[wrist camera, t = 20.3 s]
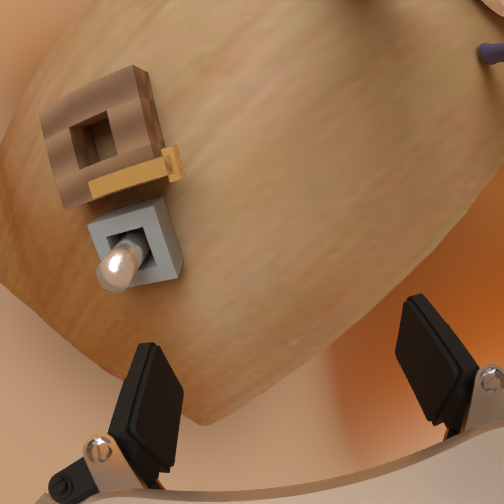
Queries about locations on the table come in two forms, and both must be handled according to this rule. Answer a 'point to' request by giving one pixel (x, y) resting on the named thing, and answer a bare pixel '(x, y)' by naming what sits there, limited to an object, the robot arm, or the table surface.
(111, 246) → the grey square ring block
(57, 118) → the socket block
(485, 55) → the rubber mallet
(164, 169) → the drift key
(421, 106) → the table surface
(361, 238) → the table surface
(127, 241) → the steel peg
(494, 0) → the decorative rooster
